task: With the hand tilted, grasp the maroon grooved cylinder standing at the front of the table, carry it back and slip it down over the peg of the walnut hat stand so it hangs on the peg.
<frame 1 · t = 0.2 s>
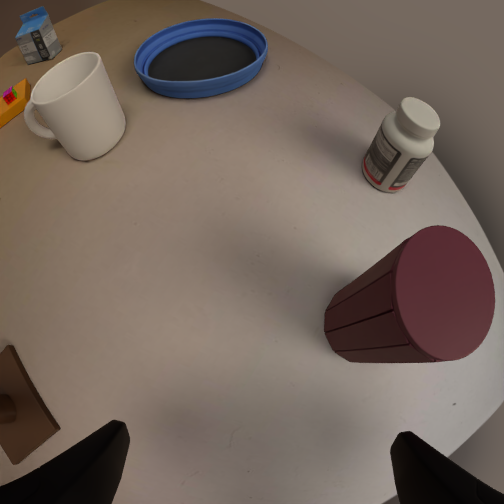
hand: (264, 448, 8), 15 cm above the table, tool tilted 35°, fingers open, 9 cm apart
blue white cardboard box: (45, 57, 40), on the table
pill bottle: (382, 173, 30), on the table
orange slab with cube: (13, 108, 35), on the table
mug: (85, 140, 31), on the table
hat stand: (12, 407, 20), on the table
maroon grooved cylinder: (361, 323, 24), on the table
bowl: (201, 64, 35), on the table
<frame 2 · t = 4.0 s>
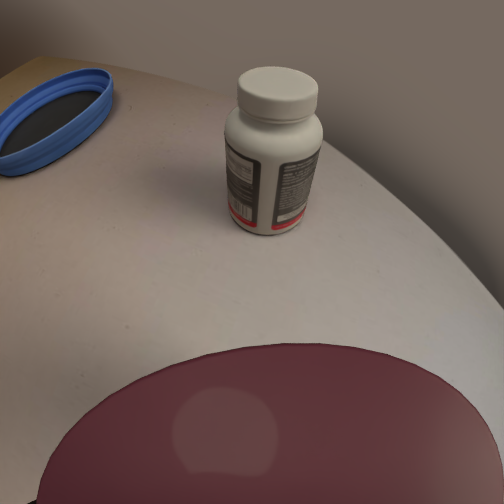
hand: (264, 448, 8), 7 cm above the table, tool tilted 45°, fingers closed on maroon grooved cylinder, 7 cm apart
pill bottle: (265, 208, 21), on the table
maroon grooved cylinder: (253, 458, 13), on the table, touching gripper
bowl: (51, 129, 27), on the table
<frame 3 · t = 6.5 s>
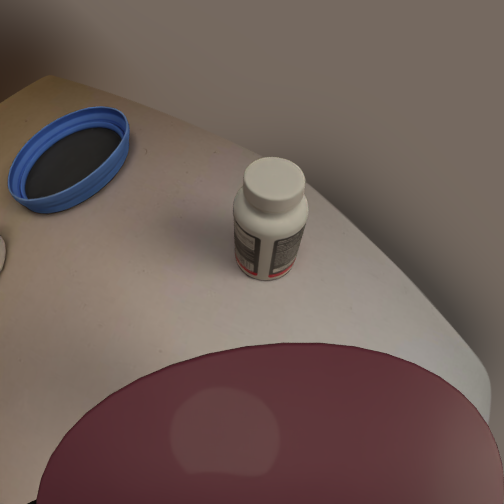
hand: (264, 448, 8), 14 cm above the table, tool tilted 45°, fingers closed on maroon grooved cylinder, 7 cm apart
pill bottle: (264, 256, 27), on the table
maroon grooved cylinder: (254, 458, 13), point 7 cm above the table, touching gripper
bowl: (72, 166, 33), on the table
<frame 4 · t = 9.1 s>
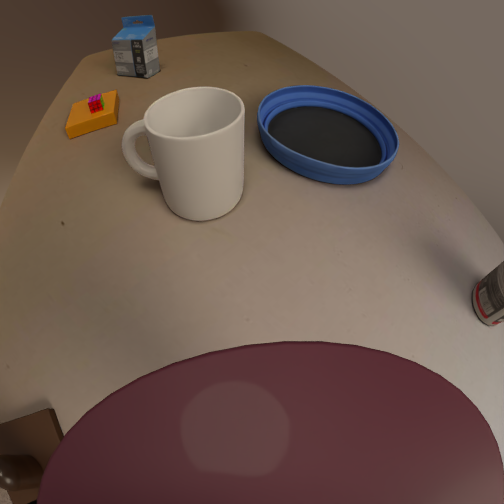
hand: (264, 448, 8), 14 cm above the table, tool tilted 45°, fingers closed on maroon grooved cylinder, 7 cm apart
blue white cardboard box: (138, 73, 47), on the table
pill bottle: (485, 304, 25), on the table
orange slab with cube: (95, 119, 39), on the table
mug: (187, 191, 31), on the table
hat stand: (37, 470, 15), on the table
maroon grooved cylinder: (254, 458, 13), point 7 cm above the table, touching gripper
bowl: (325, 141, 36), on the table
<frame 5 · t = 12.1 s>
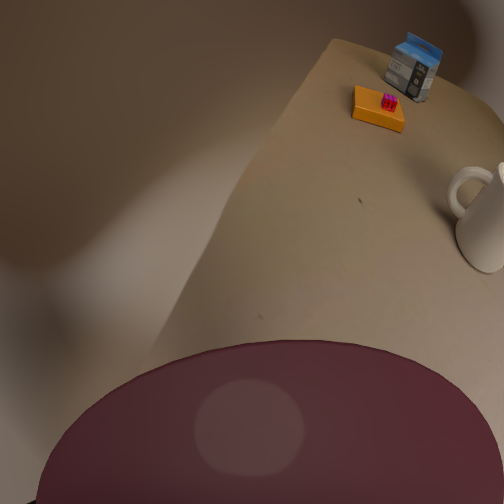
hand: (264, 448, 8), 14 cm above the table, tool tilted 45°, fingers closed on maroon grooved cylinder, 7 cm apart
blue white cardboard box: (404, 91, 48), on the table
orange slab with cube: (375, 113, 41), on the table
mug: (466, 237, 29), on the table
maroon grooved cylinder: (253, 458, 13), point 7 cm above the table, touching gripper
when the fingers open (8 cm above the table, at t = 14.6 s): maroon grooved cylinder stays where it is, resting on hat stand.
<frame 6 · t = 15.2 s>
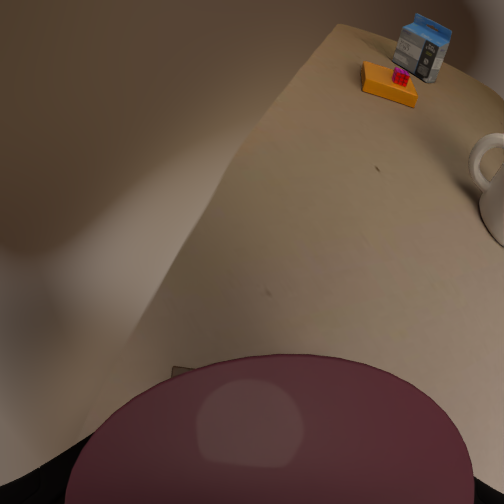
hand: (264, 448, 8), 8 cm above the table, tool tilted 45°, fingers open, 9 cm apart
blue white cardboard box: (413, 72, 43), on the table
orange slab with cube: (385, 89, 37), on the table
mug: (490, 214, 25), on the table
maroon grooved cylinder: (253, 456, 13), point 1 cm above the table, touching hat stand
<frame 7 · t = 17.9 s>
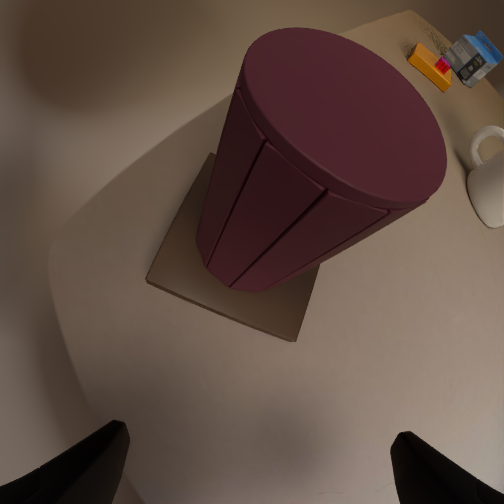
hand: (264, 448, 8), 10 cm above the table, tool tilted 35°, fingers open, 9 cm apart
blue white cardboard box: (456, 72, 43), on the table
orange slab with cube: (426, 69, 38), on the table
mug: (475, 188, 31), on the table
hat stand: (247, 245, 20), on the table
maroon grooved cylinder: (250, 238, 19), point 1 cm above the table, touching hat stand
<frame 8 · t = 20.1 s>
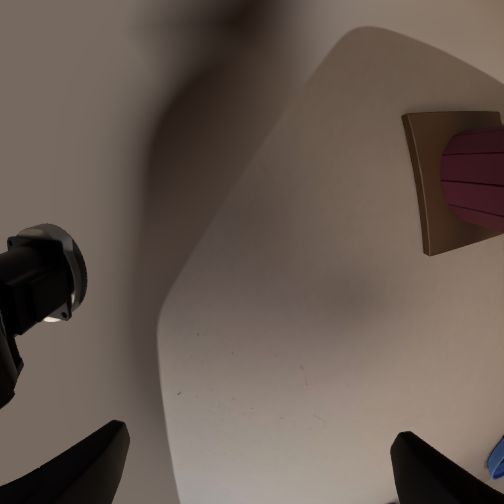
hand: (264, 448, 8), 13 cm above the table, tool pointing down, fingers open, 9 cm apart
hat stand: (465, 176, 18), on the table
maroon grooved cylinder: (473, 176, 17), point 1 cm above the table, touching hat stand
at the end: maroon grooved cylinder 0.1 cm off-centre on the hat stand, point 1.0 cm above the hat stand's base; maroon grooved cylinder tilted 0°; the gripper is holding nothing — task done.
